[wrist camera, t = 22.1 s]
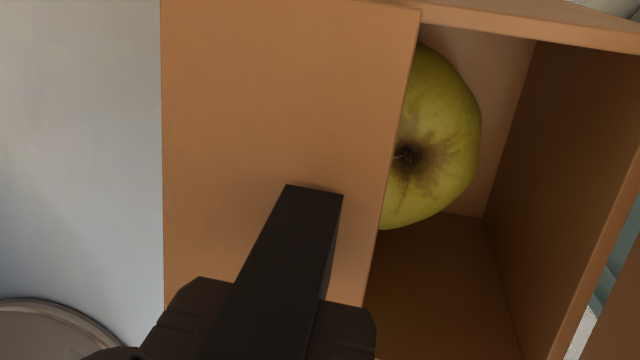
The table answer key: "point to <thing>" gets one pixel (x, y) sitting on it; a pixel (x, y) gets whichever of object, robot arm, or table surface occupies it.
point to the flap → (277, 125)
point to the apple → (432, 142)
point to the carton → (523, 192)
